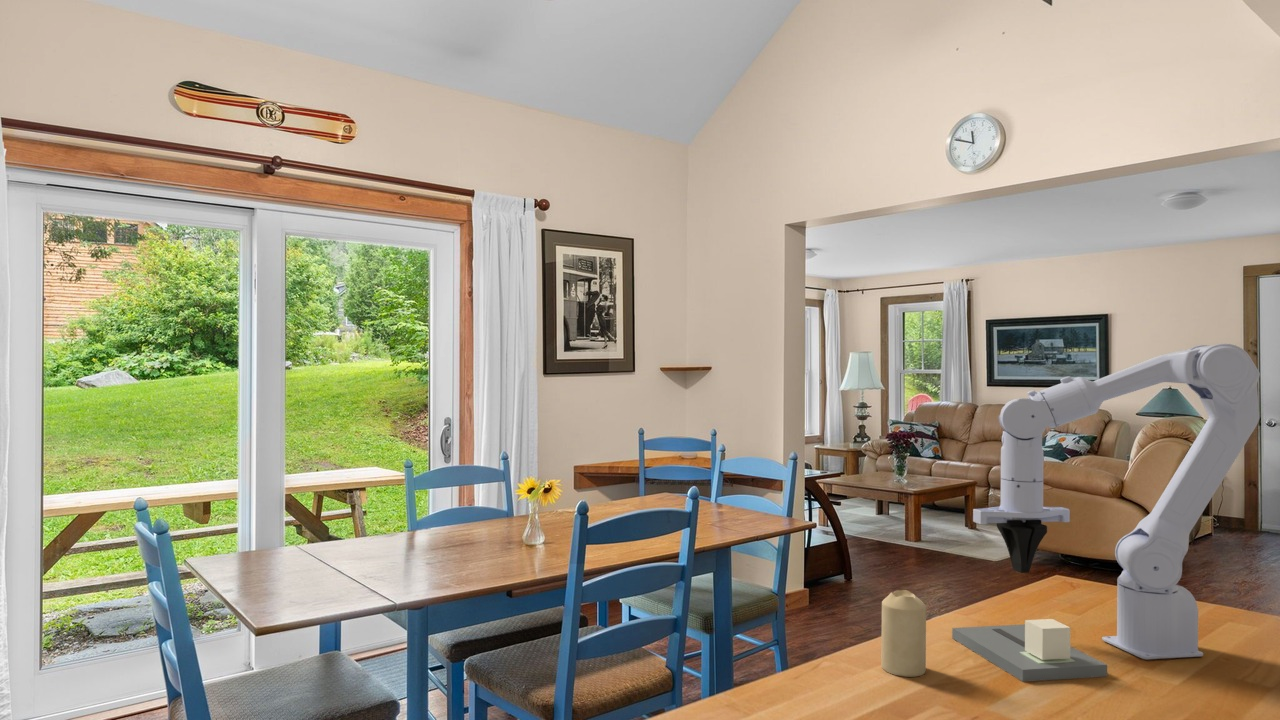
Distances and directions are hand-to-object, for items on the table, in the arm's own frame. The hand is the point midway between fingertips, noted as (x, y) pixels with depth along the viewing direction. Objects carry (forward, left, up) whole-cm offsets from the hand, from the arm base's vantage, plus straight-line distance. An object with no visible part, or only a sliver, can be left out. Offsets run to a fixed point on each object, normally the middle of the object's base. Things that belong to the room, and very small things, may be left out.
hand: (1021, 571), depth 118 cm
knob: (+5, +12, -8) cm, 15 cm away
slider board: (+5, +8, -9) cm, 13 cm away
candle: (+24, +10, -10) cm, 28 cm away
